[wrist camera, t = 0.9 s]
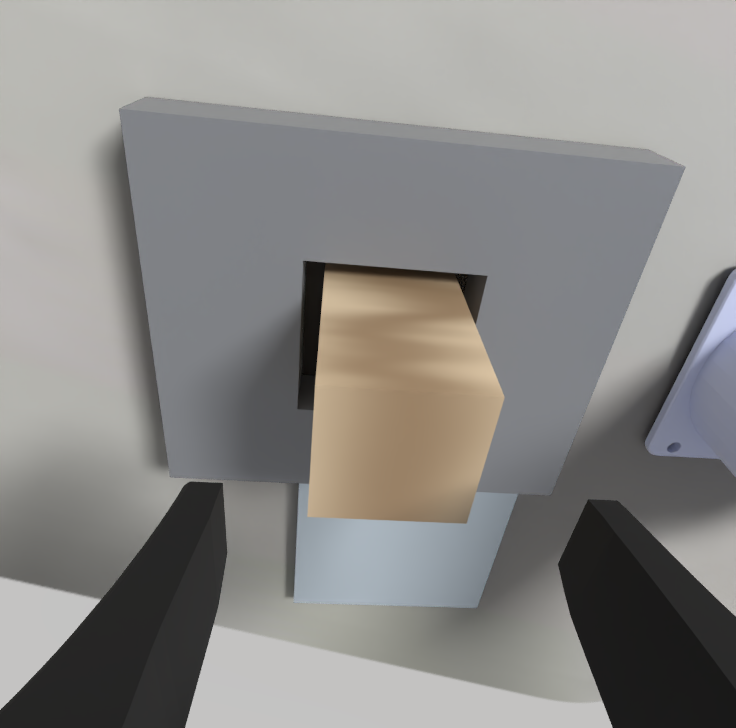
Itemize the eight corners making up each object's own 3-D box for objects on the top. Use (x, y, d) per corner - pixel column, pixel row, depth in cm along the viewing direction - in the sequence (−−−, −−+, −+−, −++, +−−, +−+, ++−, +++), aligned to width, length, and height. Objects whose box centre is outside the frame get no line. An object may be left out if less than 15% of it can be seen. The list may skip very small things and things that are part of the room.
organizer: (648, 149, 15) (685, 166, 14) (535, 458, 22) (550, 495, 20) (145, 96, 14) (118, 108, 13) (184, 439, 21) (169, 477, 19)
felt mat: (520, 466, 22) (524, 477, 22) (474, 597, 27) (476, 608, 27) (300, 455, 21) (299, 465, 21) (294, 591, 26) (293, 602, 26)
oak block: (451, 264, 17) (505, 397, 11) (430, 368, 19) (466, 523, 14) (325, 254, 17) (315, 384, 11) (319, 361, 19) (307, 516, 13)
